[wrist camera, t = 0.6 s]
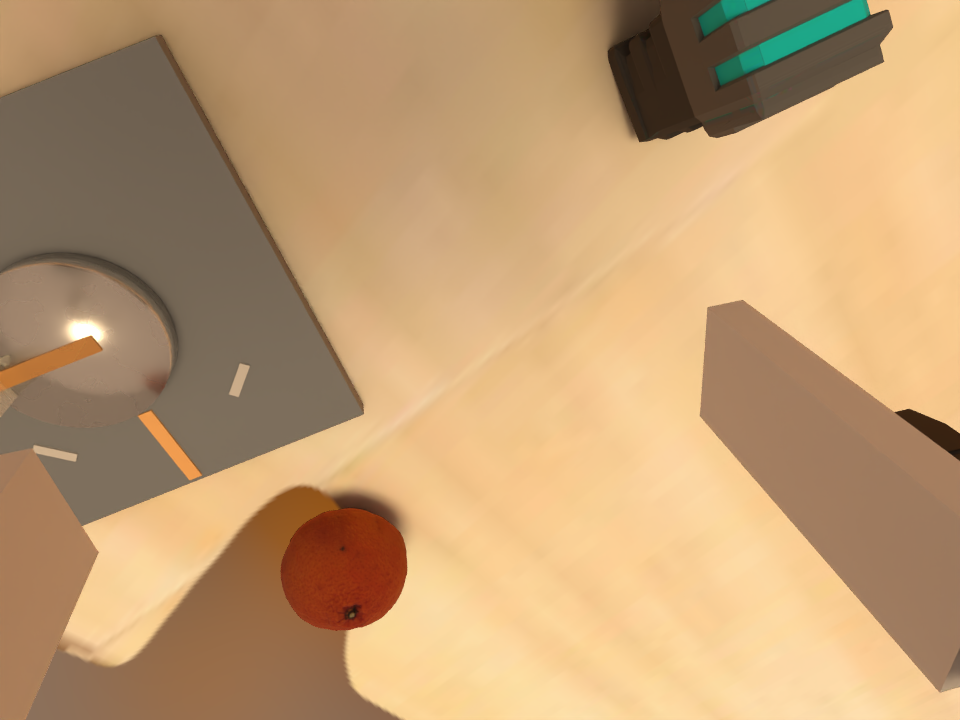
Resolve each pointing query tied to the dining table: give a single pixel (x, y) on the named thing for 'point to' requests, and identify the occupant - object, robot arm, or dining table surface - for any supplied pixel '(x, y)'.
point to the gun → (740, 61)
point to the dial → (81, 341)
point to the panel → (162, 279)
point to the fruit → (344, 569)
